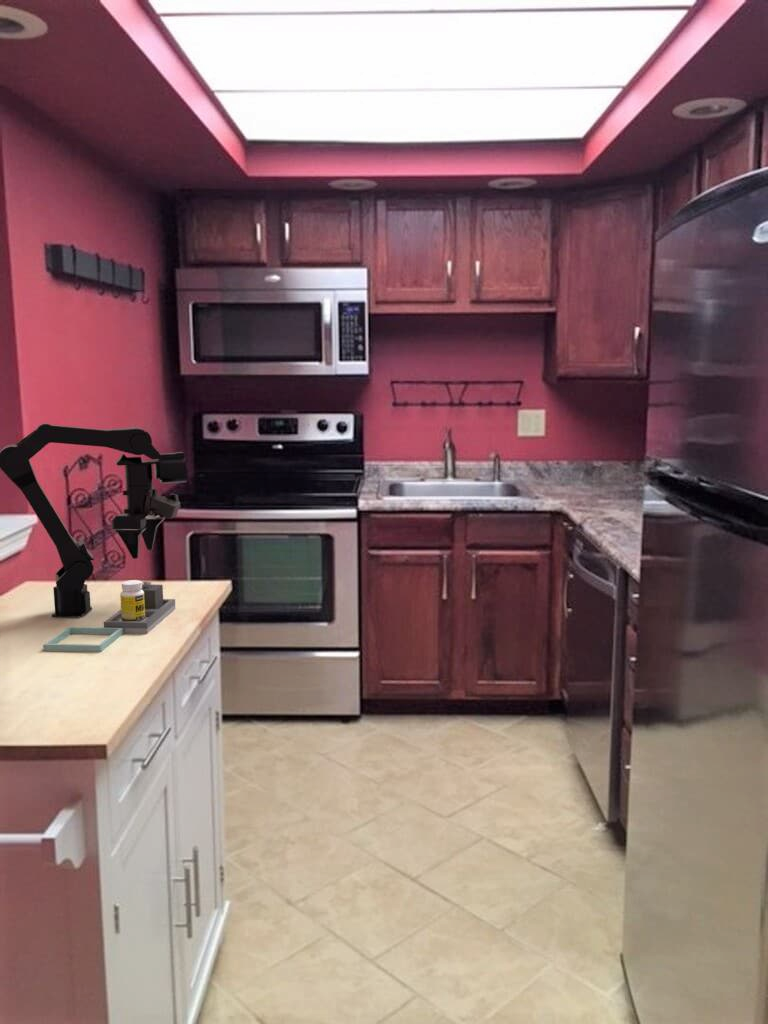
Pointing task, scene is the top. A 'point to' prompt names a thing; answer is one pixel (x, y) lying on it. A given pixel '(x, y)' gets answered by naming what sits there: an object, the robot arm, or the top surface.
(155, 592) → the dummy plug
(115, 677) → the top surface
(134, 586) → the supplement bottle
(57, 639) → the green square frame
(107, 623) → the grey socket tray
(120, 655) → the top surface
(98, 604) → the top surface
